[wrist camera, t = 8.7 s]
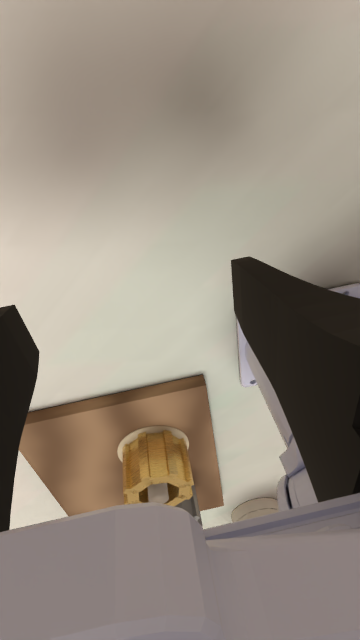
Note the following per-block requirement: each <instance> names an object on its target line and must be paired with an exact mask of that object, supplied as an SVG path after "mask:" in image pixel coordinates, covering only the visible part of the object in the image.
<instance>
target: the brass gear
mask: <svg viewBox="0 0 360 640" xmlns="http://www.w3.org/2000/svg"><path fill="white" fill-rule="evenodd" d="M122 454H123V494H124V504H125V505H126V504H137V503H148V502H149V500H148V486H149V485H152V484H160V483H167V487H168V495H169V500H168V501H167V502H166V503H164V504H165V505H170V506H174V507H175V506H176V505H177V504H179V503H181V502H182V501H184V500H185V499H187V500H189V499H190V498H191V497H192V496H193V493H192V488H191V486H192V485H194V482H193V476H192V471H191V466H190V461H189V455H188V450H187V445H186V441H185V440H184V438H182V439H179V438H177V437H175V436H173V435H172V432H171V431H168V430H163V432H160V433H150V434H147V433H146V432H143V433H140V434H138V438H137V439H135V440H134V441H133V442H131V443H130V444H125V445H124V447H123V448H122Z"/></svg>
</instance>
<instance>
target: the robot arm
mask: <svg viewBox="0 0 360 640" xmlns="http://www.w3.org/2000/svg"><path fill="white" fill-rule="evenodd" d="M231 267H232V283H233V298H234V311H235V314H236V321H237V337H238V353H239V369H240V382H241V385H242V386H243V387H250V386H254V385H258V386H259V388H260V391H261V393H262V395H263V397H264V399H265V401H266V404H267V406H268V408H269V410H270V412H271V414H272V417H273V419H274V421H275V423H276V425H277V427H278V429H279V432H280V434H281V436H282V438H283V440H284V442H285V445H286V447H287V450H286V451H285V452H284V453H283V454H282V455H280V457H279V458H280V460H281V462H282V464H283V467H284V469H285V471H286V474H287V475H285V476H283V477H282V478H281V479H280V480H279V482H278V485H277V501H278V502H277V504H278V512H276V513H271V514H267V515H263V516H259V517H254V518H250V519H246V520H242V521H237V522H233V523H229V524H224V525H220V526H216V527H212V528H207V529H203V528H202V526H201V525H200V524H199V523H198V522H197V521H196V520H195V519H194V518H193V517H192V515H191V514H190V513H189V512H187V511H185V510H184V509H182V508H179V507H174V506H170V505H165V504H161V503H156V502H148V503H137V504H126V505H117V506H112V507H108V508H104V509H99V510H95V511H91V512H86V513H82V514H78V515H73V516H69V517H64V518H60V519H56V520H51V521H47V522H43V523H38V524H34V525H30V526H25V527H21V528H16V529H12V530H9V526H10V513H11V503H12V495H13V486H14V477H15V470H16V463H17V456H18V450H19V445H20V441H21V436H22V432H23V429H24V425H25V421H26V418H27V414H28V410H29V406H30V403H31V399H32V395H33V391H34V387H35V383H36V379H37V373H38V363H39V350H38V348H37V346H36V345H35V343H34V341H33V339H32V337H31V335H30V333H29V331H28V329H27V327H26V326H25V324H24V322H23V320H22V318H21V316H20V314H19V312H18V310H17V309H16V307H15V305H11V306H6V307H1V308H0V640H360V283H356V284H351V285H346V286H342V287H337V288H332V289H325V288H322V287H319V286H316V285H313V284H311V283H308V282H306V281H303V280H300V279H298V278H296V277H293V276H291V275H289V274H287V273H284V272H282V271H280V270H278V269H276V268H274V267H272V266H269V265H267V264H265V263H263V262H261V261H259V260H257V259H254V258H252V257H244V258H239V259H234V260H231ZM345 291H346V292H345ZM344 292H345V293H344ZM343 293H344V294H343ZM251 380H253V381H251Z"/></svg>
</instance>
